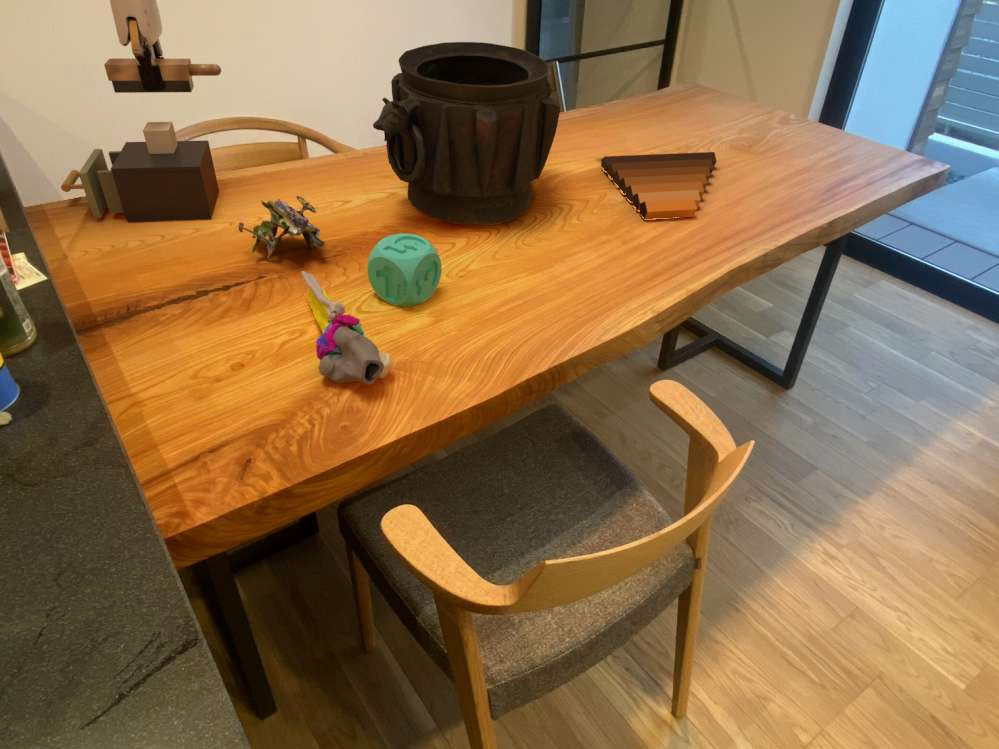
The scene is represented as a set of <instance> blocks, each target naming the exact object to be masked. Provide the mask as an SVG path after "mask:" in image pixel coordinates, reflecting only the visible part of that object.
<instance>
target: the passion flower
mask: <svg viewBox="0 0 999 749" xmlns="http://www.w3.org/2000/svg"><path fill="white" fill-rule="evenodd" d="M296 199H297V201H298V202H299V203H300V204H301V205H302V207H301V209H300V210H296V209H295V208H293V207H292V206H291V205H289V204H288V202H284V201H282V200H280V199H279V198H277V199H276V200H274V201H273V200H268V201H267V202H265V200H264V198H263V197H262V198H261V199H260V201H261V205H262V206H263V207H264V208H265V209H267V210H268V211H269V213H270V220H262V221H261V223H260V225H255V226H254V227H253V230H251V229H248V228H246V227H244V226H245V223H244V222H241V221H240V222H238V231H239V232H240V233H243V230H244V231H247V232H249V233H251V234H252V237H251V238H252V239H256V240H255V243H254V244H253V246H252V254H253V253H255V251H256V249H257V247H258V246H259V245H260V243H261V242H262V241H265V242H266V249H267V257H266V259H265V261H266V262H268V261H269V260H270V257H271V255H272V254H273V253H274V252H275V251H276V250H277V249H278V247H279V243H280V241H281V240H282V238H283V237H284V236H285V235H287V234H288V235H289V236H290V237H292V238H293V237H294V236H295V237H296V236H300V235H302V237H303V239H304V241H305V244H306V245H307V246H308V248H310V249H312V250H315V251H318V250H319V248H318V247H323V246H324V245H325V243H326V242H325V241H323V240H322V239H320V235H321V229H320V228H318V227H316V226H314V224H312V223H311V222H310V220H309V218H308V217H306V216H305V215H304V212H306V211H310V212H311V213H314V214H315V213H318V211H317V210H316V208H315V207H314V206H313V205H312V204H311V202H309V201H307V200H306V199H305V198H303V197H301V196H300V195H296ZM278 228H280V229H282V230H283V231H282V232H281V233H280V235H278V236H277V233H278V230H279V229H278ZM276 236H277V237H276ZM266 237H268V239H267V238H266ZM269 239H270V240H269ZM317 246H318V247H317Z"/></svg>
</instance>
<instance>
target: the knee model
mask: <svg viewBox="0 0 999 749" xmlns="http://www.w3.org/2000/svg"><path fill="white" fill-rule="evenodd" d="M301 277H302V279H303V281H304V283H305V285H306V286H307V288H309V289H308V291H307V294H306V299H307V300H308V304H309V306H310V308H311V310H312V311H311V312H312V314H313V317H314V319H315V322H316V323H317V325H318V326H319V327H320V331H321V333H322V334H320V336H319V337H318V338H317V339H316V341H315V343H316V344H315V352H316V358H317V359H318V360H319V365H318V372H319V374H320V375H322V376H327V377H328V379H329V380H330V381H332V382H334V383H337V384H343V383H344V384H345V383H350V382H361V383H364V384H366V385H369V386H370V385H371V384H373V383H374V382H376V381H377V379H378V378H379V379H384V378H385V377H387V375H388V373H389V372H390V370H391V369H392V365H393V357H392V355H391V354H390V353H389V352H384V351H381V352H380V351H379V348H378V346H377V345H376V344H375V343H374V342H373V341H372V340H371V339H370V338H368V337H367V336H364V335H365V331H364V329H363V326H362V325H363V324H362V322H361V320H360V318H358V317H355V316H354V315H351V314H345V312H346V310H345V305H344V304H343V303H342V302H341V301H331V298H330V297H329V295H328V294H327V292H326V290H325V289H324V288H323V287H322V286H321V285H320V283H319V281H318V280H317V278H316V277H315V276H314V275H313V273H310V272H306V271H305V270H302V271H301Z"/></svg>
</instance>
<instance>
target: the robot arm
mask: <svg viewBox="0 0 999 749" xmlns="http://www.w3.org/2000/svg"><path fill="white" fill-rule="evenodd" d="M109 3H110V8H111V13H112V16H113V20H114V26H115V29H116V33H117V39H118V42H119V43H120V45H121V46H123V47H127V46H128V45H131V52H132V54H133V56H134V59H135V60H136V64H137V67H138V71H139V75H140V78H141V82H142V86H143V89H144V90H145V91H163V90H164V84H163V80H162V76H161V72H160V68H159V65H156V60H155V59H165V57H164V53H163V48H162V44H161V42H160V37H161V35H162V34H163V25H162V24H163V23H162V19H161V15H160V10H159V6H158V2H157V0H109Z"/></svg>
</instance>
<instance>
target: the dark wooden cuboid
mask: <svg viewBox="0 0 999 749" xmlns="http://www.w3.org/2000/svg"><path fill="white" fill-rule="evenodd" d="M177 143H178V145H177V148H176V150H175V153H170V154H149V151H148V148H147V144H146V141H125V143H124V145H123V146H122V148H121V149H120V151H121V152H120V153H119V155H118V157H117V159H116V160H115V162H114V164H113V166H112V165H111V168H110V170H111V171H112V174H113V178H114V181H115V184H116V187H117V190H118V193H119V197H120V200H121V203H122V206H123V209H124V213H123V214H124V215H125V216H124V217H125V219H126V221H127V223H152V222H153V223H154V222H178V221H204V220H207V221H208V220H212V219H213V215H214V211H215V208H216V204H217V200H218V197H219V192H220V189H219V183H218V179H217V175H216V170H215V165H214V160H213V157H212V156H213V155H212V151H211V146H210V142H209V140H177Z"/></svg>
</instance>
